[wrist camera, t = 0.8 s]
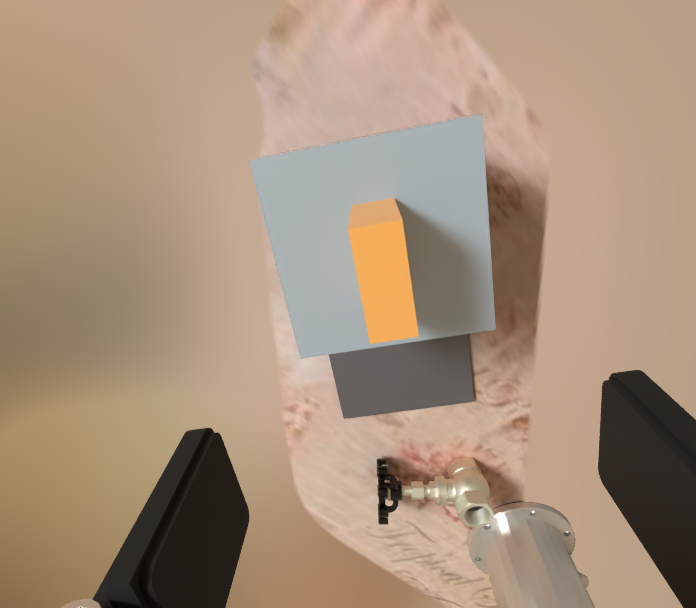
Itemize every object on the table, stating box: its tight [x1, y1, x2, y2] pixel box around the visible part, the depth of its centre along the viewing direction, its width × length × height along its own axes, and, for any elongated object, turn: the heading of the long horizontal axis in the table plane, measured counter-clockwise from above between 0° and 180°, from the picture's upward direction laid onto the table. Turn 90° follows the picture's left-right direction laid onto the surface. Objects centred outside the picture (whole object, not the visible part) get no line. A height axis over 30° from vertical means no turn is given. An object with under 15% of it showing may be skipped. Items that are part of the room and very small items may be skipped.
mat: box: [329, 334, 474, 419], centre depth 44 cm, size 14×14×1 cm
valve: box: [377, 457, 495, 528], centre depth 47 cm, size 7×7×12 cm
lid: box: [249, 114, 496, 358], centre depth 25 cm, size 13×13×8 cm
